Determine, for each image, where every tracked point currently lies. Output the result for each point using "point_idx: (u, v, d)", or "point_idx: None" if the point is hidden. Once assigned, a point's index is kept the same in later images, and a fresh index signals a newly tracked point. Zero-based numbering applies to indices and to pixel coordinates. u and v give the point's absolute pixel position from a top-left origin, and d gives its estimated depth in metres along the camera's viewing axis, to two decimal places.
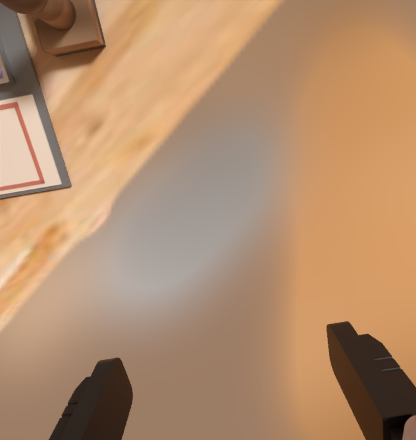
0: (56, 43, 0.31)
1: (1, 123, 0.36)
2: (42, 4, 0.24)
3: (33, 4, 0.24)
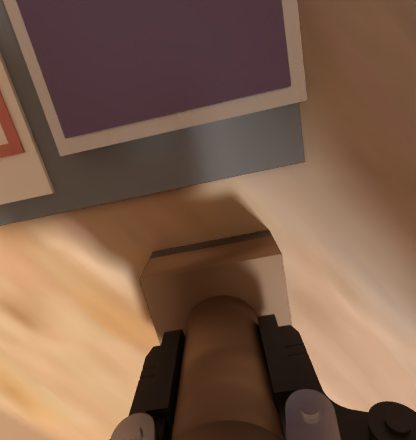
0: (158, 310, 0.13)
1: None
2: None
3: None
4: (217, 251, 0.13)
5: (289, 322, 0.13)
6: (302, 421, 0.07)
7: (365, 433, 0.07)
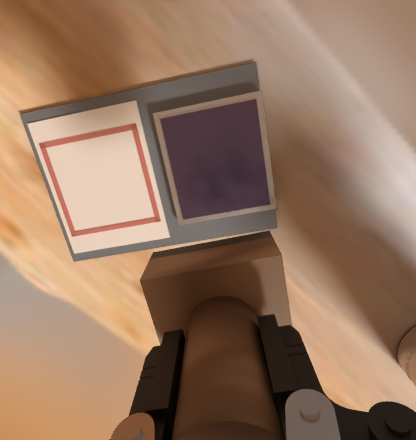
0: (159, 311, 0.13)
1: (136, 196, 0.30)
2: None
3: None
4: (217, 252, 0.13)
5: (289, 323, 0.13)
6: (302, 421, 0.07)
7: (365, 433, 0.07)
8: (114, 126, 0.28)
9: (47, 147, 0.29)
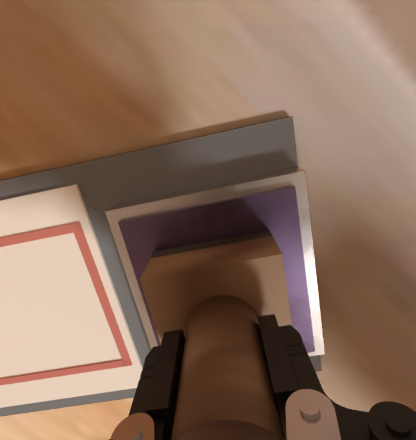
0: (159, 310, 0.13)
1: (89, 329, 0.18)
2: None
3: None
4: (217, 251, 0.13)
5: (289, 322, 0.13)
6: (302, 421, 0.07)
7: (365, 433, 0.07)
8: (42, 226, 0.16)
9: None
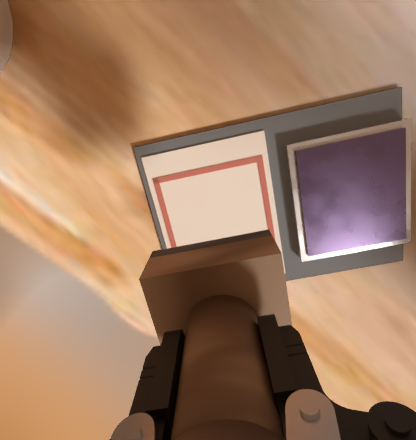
0: (158, 310, 0.13)
1: (252, 231, 0.28)
2: None
3: None
4: (217, 250, 0.13)
5: (289, 321, 0.13)
6: (302, 421, 0.07)
7: (365, 433, 0.07)
8: (237, 158, 0.26)
9: (161, 182, 0.26)
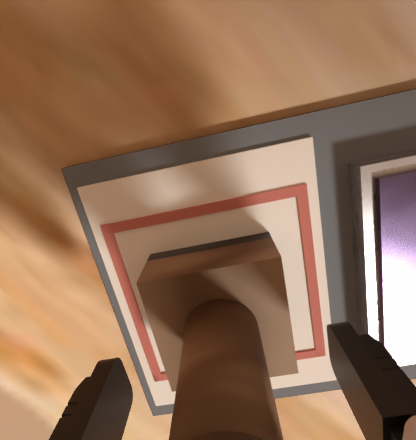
0: (156, 314, 0.12)
1: None
2: None
3: None
4: (215, 253, 0.13)
5: (289, 326, 0.12)
6: None
7: None
8: (259, 189, 0.13)
9: (117, 232, 0.14)
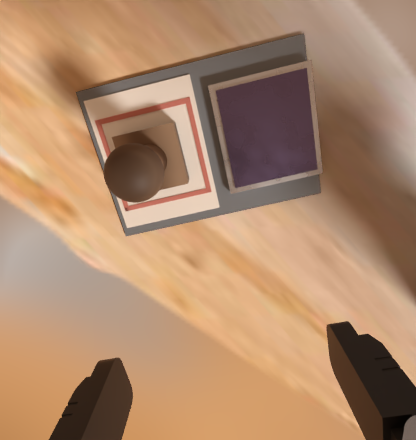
0: None
1: (187, 169, 0.32)
2: None
3: None
4: None
5: (180, 157, 0.28)
6: None
7: None
8: (168, 100, 0.29)
9: (103, 123, 0.30)
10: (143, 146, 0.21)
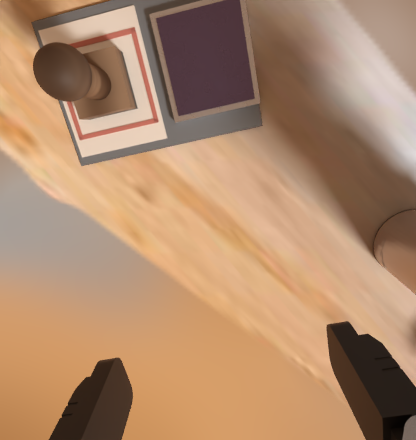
0: None
1: (136, 99, 0.34)
2: None
3: None
4: None
5: (123, 80, 0.31)
6: None
7: None
8: (115, 30, 0.32)
9: None
10: (69, 45, 0.23)
